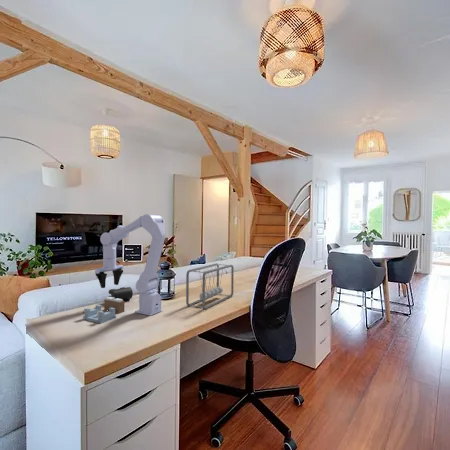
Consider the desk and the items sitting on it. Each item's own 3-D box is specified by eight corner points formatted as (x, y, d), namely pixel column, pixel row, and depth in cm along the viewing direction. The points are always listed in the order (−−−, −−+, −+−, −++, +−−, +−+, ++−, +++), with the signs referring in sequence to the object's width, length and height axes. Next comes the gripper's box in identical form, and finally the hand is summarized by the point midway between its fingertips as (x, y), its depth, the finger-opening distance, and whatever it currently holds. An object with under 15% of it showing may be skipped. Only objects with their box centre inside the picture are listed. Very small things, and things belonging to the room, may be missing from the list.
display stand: (116, 317, 118) (116, 308, 118) (100, 323, 111) (101, 313, 111) (98, 313, 123) (98, 304, 123) (83, 319, 116) (83, 308, 116)
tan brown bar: (124, 312, 126) (124, 299, 126) (119, 313, 124) (119, 300, 124) (109, 308, 131) (109, 296, 131) (104, 310, 128) (104, 297, 128)
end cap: (114, 304, 137) (114, 291, 137) (107, 302, 142) (107, 288, 142) (132, 300, 144) (133, 287, 144) (126, 298, 149) (126, 285, 149)
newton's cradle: (217, 293, 160) (217, 262, 160) (233, 296, 155) (233, 264, 155) (185, 307, 134) (185, 270, 134) (203, 310, 129) (204, 272, 129)
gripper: (116, 255, 142) (116, 282, 142) (90, 259, 129) (90, 288, 129) (126, 256, 138) (126, 283, 138) (100, 259, 126) (100, 290, 126)
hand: (109, 286), depth 134 cm, fingers open, 7 cm apart
